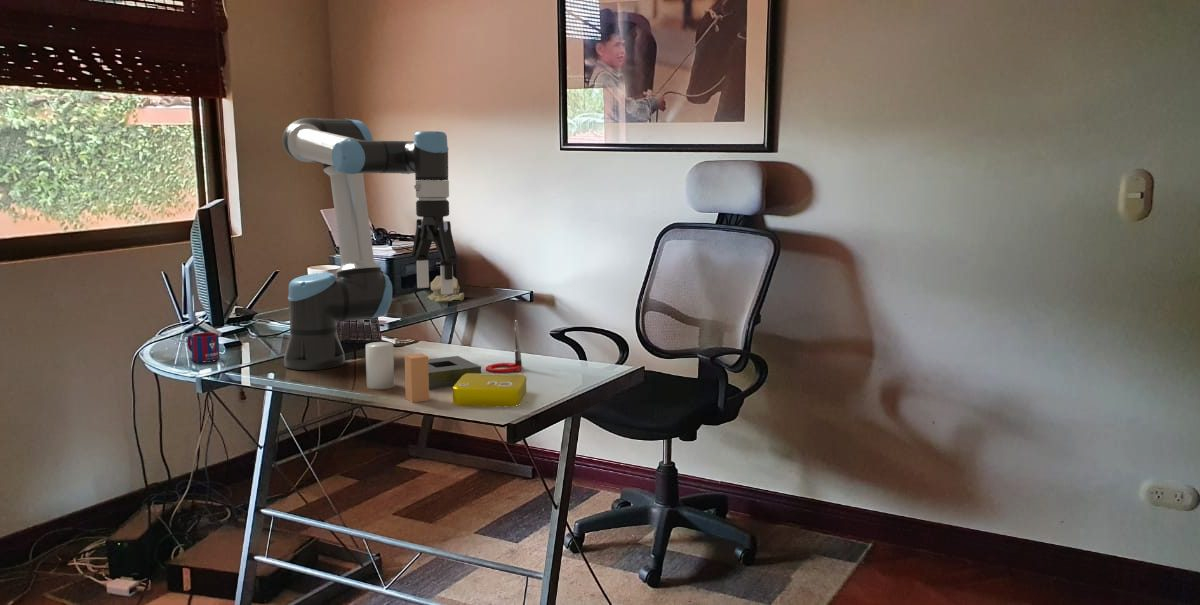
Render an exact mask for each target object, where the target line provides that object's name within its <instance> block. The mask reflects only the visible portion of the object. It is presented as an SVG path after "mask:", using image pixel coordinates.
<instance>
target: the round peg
mask: <svg viewBox="0 0 1200 605" xmlns="http://www.w3.org/2000/svg"><path fill="white" fill-rule="evenodd" d="M394 355H395V354H394V343H392V342H387V341H376V342H369V343H366V344H365V371H366V372H365V373H366V374H365V375H366V376H365V377H366V388H367V389H371V390H386V389H387V390H388V389H391V388H393V387H395V361H394V360H395V356H394Z"/></svg>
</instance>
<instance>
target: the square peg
mask: <svg viewBox="0 0 1200 605" xmlns="http://www.w3.org/2000/svg"><path fill="white" fill-rule="evenodd" d="M428 359H429V356H428V355H426V354H424V353H413V354H404V377H405V378H404V383H405V384H404V385H405V390H404V392H405V399H406V400H407V401H409V402H411V403H419V402H424V401H430V389H429V368H428Z"/></svg>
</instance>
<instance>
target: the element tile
mask: <svg viewBox="0 0 1200 605" xmlns="http://www.w3.org/2000/svg"><path fill="white" fill-rule="evenodd" d="M526 394H527V376H526V375H525V374H523V373H522V374H521V373H520V374H519V373H517V374H516V373H483V372H481V373H466V374H464V375H463V376H462V377H461V378H460V379H459V380H458V382H457V383H456V384H455V385H454V386H452V404H453V406H460V407H461V406H462V407H493V408H494V407H496V406H501V407H500V408H505V407H504V406H516V405H519V404H520V403H521V404H522V402H523V400H524V398H525V397H526ZM521 401H522V402H521ZM521 404H520V405H521ZM520 405H519V406H520ZM502 406H503V407H502ZM516 407H517V406H516Z"/></svg>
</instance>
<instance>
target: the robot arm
mask: <svg viewBox="0 0 1200 605" xmlns="http://www.w3.org/2000/svg"><path fill="white" fill-rule="evenodd" d="M281 142H282V147H283V149H284V152H286V154H287V155H288V156H289V157H291V158H292V159H293V160H296V161H299V162H302V163H303V162H305V163H315V164H322V167H323V172H324V173H325V174H326V175H328V176H329V178H330V184H331V185H330V186H331V194H332V200H333V202H332V203H333V208H334V210H333V211H334V218H335V224H336V231H337V232H336V233H337V239H338V240H337V241H338V247H339V255H340V256H339V257H340V264H341V265H340V267H339V268H338V269H337V270H336V275H335V274H334V273H333V272H320V273H318V272H316V273H310V274H305V275H301V276H298V277H295V278H294V279H291V281H290V282H289V284H288V295H287V300H288V312H289V333H290V334H289V339H288V343H287V347H286V350H285V353H284V358H283V362H284V367H285V368H286V369H287V368H288V369H291V370H297V371H298V370H300V371H302V370H303V371H311V370H313V371H314V370H315V371H316V370H327V369H332V367H333V368H336V366H337V367H339V365H340V366H342V365H344V364H345V362H346V359H345V358H346V356H345V352H344V350H343V346H342V343H341V341H340V339H339V336H338V331H337V330H338V329H337V325H338V323H342V322H351V321H360V320H372V319H376V318H380V317H383V316H385V315H386V313H388V311H389V309H390V307H391V305H392V300H393V284H392V280H391V279H390V277H389V276H388V275H387V274H385V273H382V268H381V265H379V264H378V263H376V261H375V258H374V251H373V249H374V248H373V243H372V234H371V227H370V218H369V210H368V204H367V196H366V189H365V188H366V187H365V180H364V174H403V175H404V174H406V175H410V174H414V176H415V179H414V180H415V185H413V188H414V190H415V197H416V198H417V199H418V200H416V201H415V208H416V209H415V214H416V216H417V217H420V218H417V219H416V224H415V225H416V227H415V228H416V229H415V233H414V240H413V246H412V252H411V256H412V257H413V258H414V260H415V261H416V286H417V289H425V288H426V289H427V288H430V283H429V282H430V275H429V273H430V271H429V267H430V266H429V259H430V258H429V252H430V250H431V249H430V248H431V246H432V243H434V245H435V247H436V250H437V253H438V256H439V258H440V263H439V266H440V276H441V294H453V276H454V267H453V266H455V264H457V263H458V261H459V259H458V256H457V251H456V247H455V243H454V239H453V234H452V226H451V225H452V224H451V221H449V220H447V221H445V220H444V217H448V216H449V215H450V201H449V199H448V200H447V198H449V197H450V181H449V147H448V136H447V134H446V133H445V132H443V131H437V130H436V131H434V130H433V131H432V130H431V131H430V130H429V131H428V130H426V131H425V130H423V131H420V130H419V131H416V132H415V134H414V135H413V141H411V140H410V141H409V140H406V141H403V140H374V139H373V135H372V133H371V130H370V129H369V127H368V126H367V125H366V124H365V123H364V122H363V121H361V120H359V119H358V120H357V119H349V118H317V117H315V118H314V117H305V118H300V119H297V120H295V121H292V123H290V124H288V126H287V127H286V128H285V129H284V131H283V134H282V138H281Z"/></svg>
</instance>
